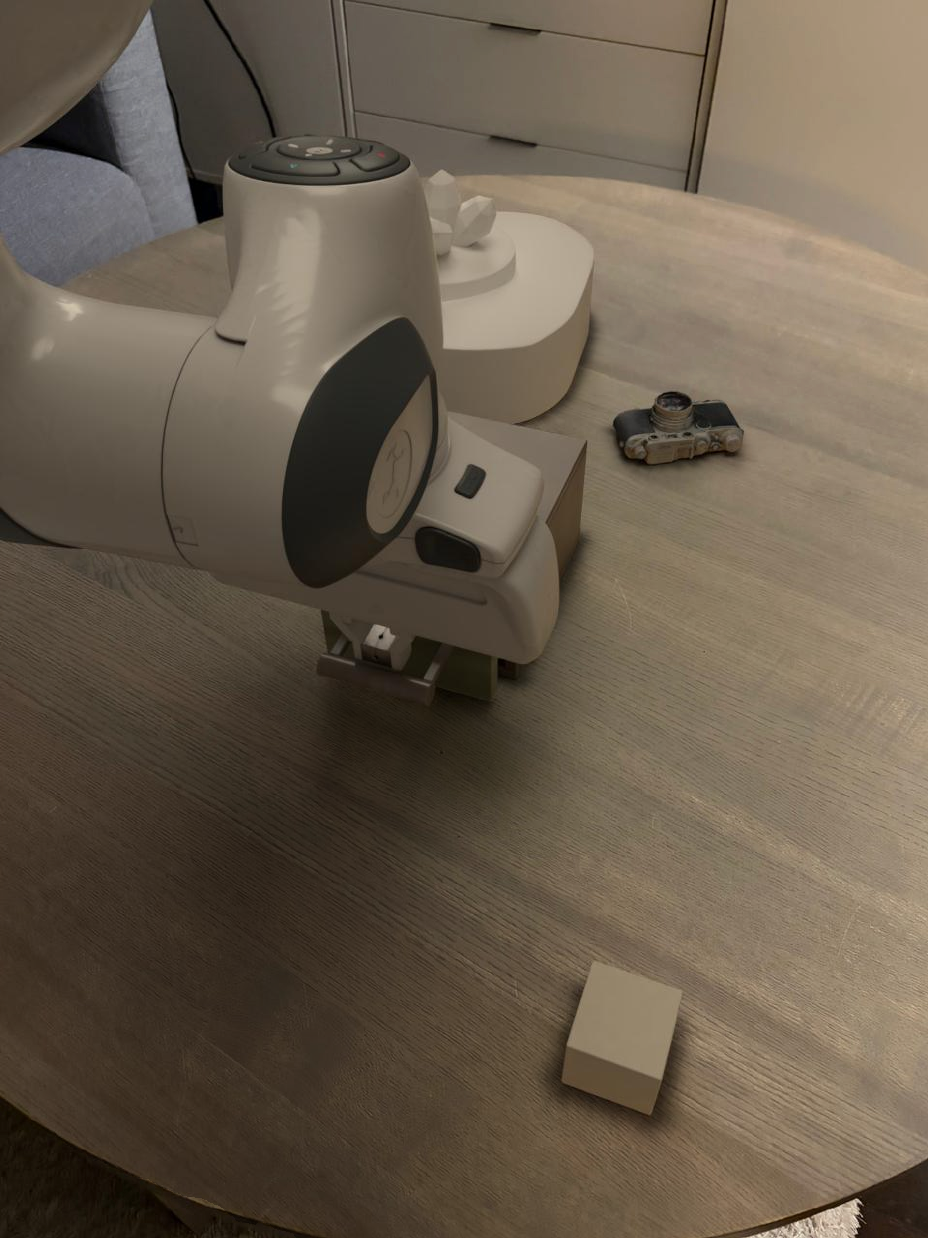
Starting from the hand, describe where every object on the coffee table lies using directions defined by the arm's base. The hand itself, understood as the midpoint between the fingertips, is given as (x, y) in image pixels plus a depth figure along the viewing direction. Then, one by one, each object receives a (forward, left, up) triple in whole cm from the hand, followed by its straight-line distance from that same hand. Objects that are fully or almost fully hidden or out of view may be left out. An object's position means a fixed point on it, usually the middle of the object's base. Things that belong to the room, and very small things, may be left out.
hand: (383, 656), depth 62 cm
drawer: (+5, +5, -5) cm, 9 cm away
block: (+5, -24, -6) cm, 25 cm away
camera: (+31, +20, -6) cm, 37 cm away
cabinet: (+9, +10, -6) cm, 15 cm away
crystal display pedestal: (+18, +41, -6) cm, 45 cm away
